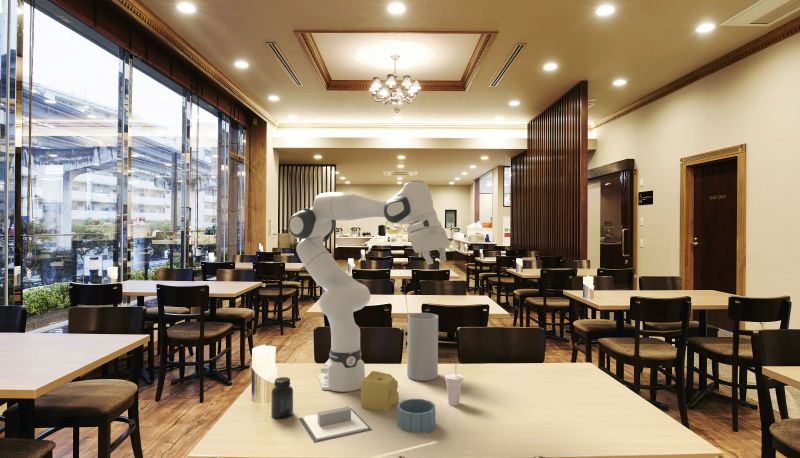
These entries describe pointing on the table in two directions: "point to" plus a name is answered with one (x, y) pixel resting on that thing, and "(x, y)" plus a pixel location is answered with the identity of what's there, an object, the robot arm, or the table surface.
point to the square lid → (334, 423)
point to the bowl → (416, 415)
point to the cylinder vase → (422, 346)
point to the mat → (335, 436)
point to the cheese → (379, 391)
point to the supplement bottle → (282, 399)
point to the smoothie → (453, 387)
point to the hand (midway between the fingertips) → (437, 262)
